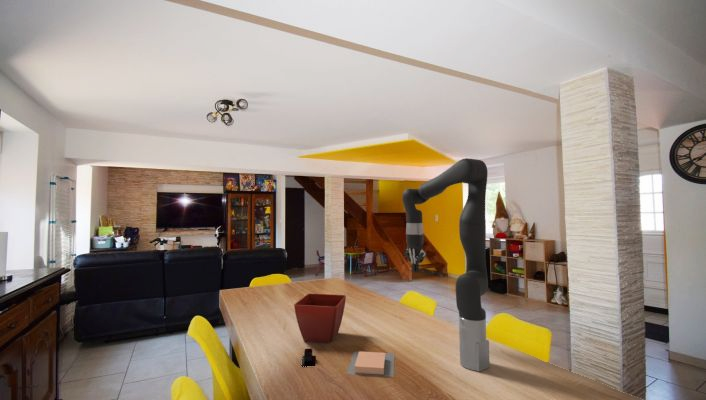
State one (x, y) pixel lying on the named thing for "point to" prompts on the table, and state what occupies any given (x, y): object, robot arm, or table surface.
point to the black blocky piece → (308, 358)
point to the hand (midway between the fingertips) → (415, 272)
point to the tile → (370, 363)
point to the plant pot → (320, 316)
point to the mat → (387, 373)
